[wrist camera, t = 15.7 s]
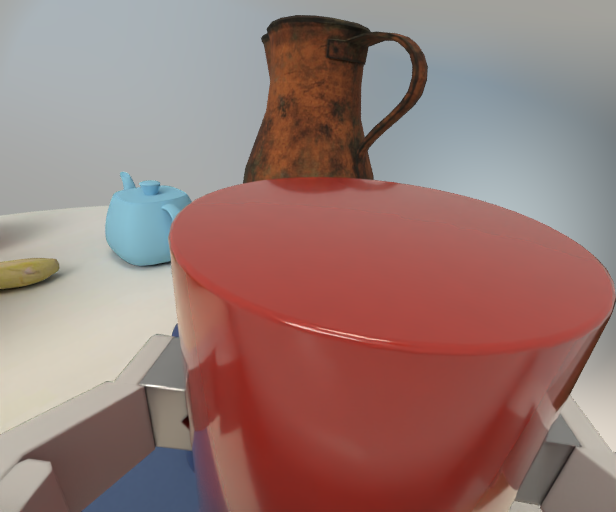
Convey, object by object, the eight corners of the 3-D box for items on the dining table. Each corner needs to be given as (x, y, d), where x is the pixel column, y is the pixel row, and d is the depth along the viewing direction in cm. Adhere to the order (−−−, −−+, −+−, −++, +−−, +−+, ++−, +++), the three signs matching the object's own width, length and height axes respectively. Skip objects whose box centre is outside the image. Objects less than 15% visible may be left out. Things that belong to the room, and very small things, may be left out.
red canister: (482, 564, 10) (651, 241, 6) (320, 864, 6) (490, 531, 2) (324, 416, 14) (355, 167, 10) (168, 533, 10) (105, 198, 6)
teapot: (159, 164, 59) (220, 188, 48) (165, 223, 63) (223, 257, 53) (74, 172, 50) (126, 203, 40) (89, 240, 55) (139, 284, 44)
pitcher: (298, 243, 60) (311, 39, 47) (411, 292, 47) (471, 33, 34) (215, 272, 48) (203, 14, 35) (335, 348, 36) (383, -9, 23)
